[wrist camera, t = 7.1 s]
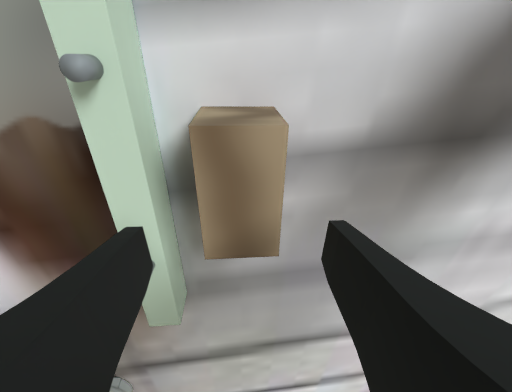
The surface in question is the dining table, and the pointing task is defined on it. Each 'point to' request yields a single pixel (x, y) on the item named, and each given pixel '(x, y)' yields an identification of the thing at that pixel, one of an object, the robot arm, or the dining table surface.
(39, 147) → the dining table surface
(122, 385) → the mug
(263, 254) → the frame block
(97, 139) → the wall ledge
